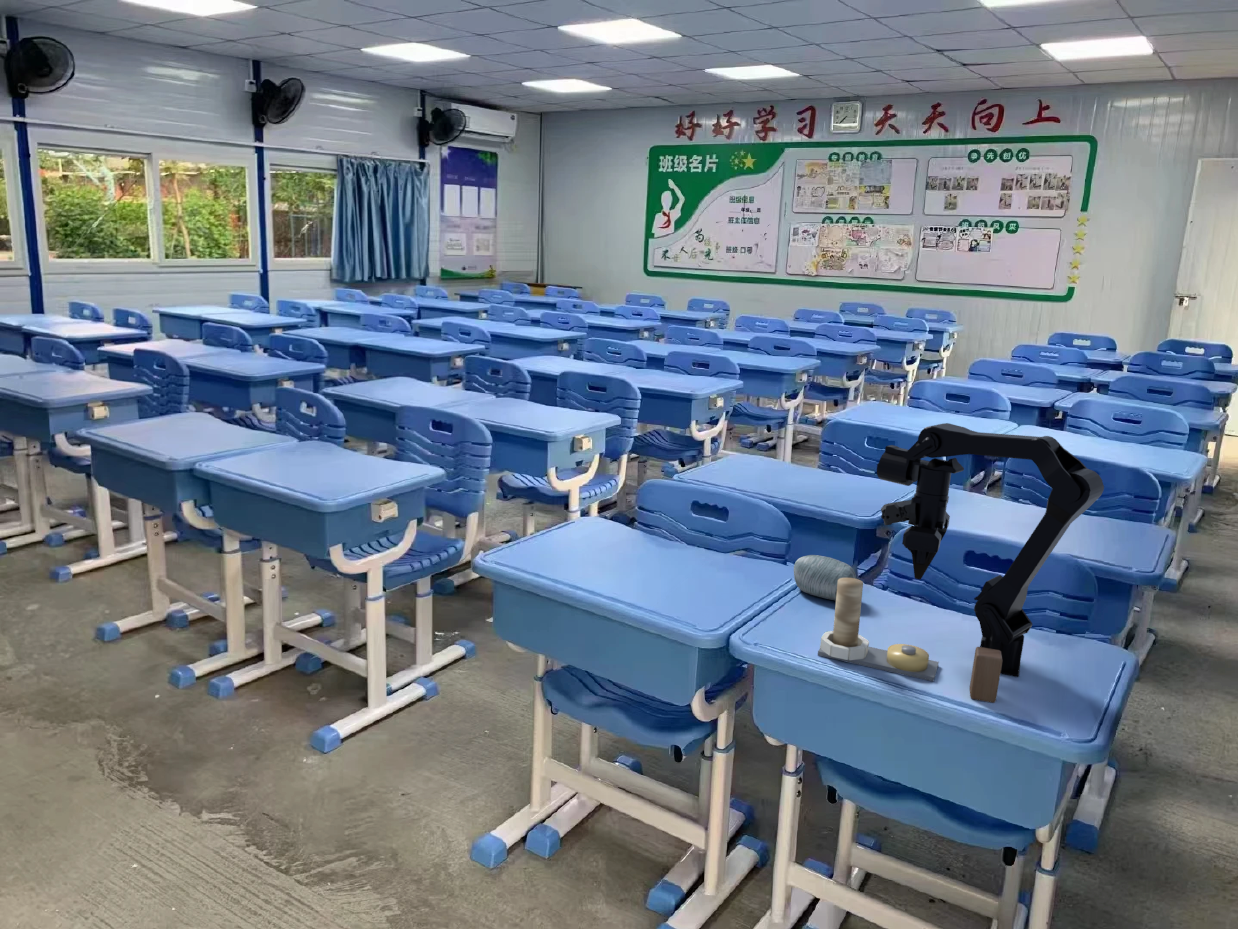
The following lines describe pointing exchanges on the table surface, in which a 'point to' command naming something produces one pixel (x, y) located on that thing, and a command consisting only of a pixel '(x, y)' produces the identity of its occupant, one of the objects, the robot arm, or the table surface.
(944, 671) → the table surface
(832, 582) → the grey streaked oval stone
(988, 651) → the wooden block
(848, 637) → the peg
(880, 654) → the board
